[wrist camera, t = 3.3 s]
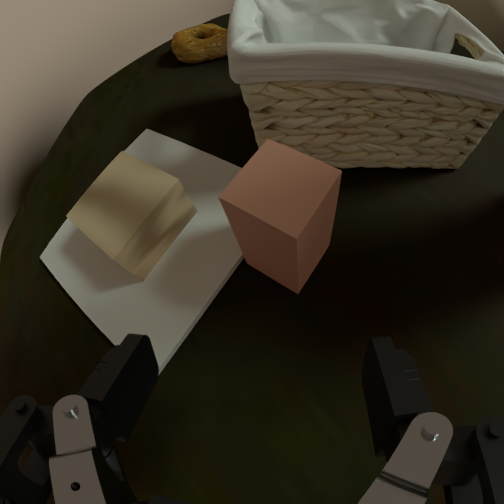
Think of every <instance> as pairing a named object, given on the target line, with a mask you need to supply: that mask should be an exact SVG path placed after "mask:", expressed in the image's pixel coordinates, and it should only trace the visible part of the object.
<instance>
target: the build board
mask: <svg viewBox="0 0 504 504" xmlns="http://www.w3.org/2000/svg"><path fill="white" fill-rule="evenodd" d="M124 152H126V153H128V154H130V155H132V156H134V157H136V158H138V159H140V160H142V161H144V162H146V163H148V164H150V165H152V166H154V167H156V168H158V169H160V170H162V171H164V172H166V173H168V174H170V175H172V176H174V177H176V178H178V179H179V180H180V182H181V183H182V185H183V187H184V189H185V191H186V192H187V194H188V196H189V198H190V199H191V201H192V203H193V205H194V206H195V208H196V210H197V213H196V214H195V215H194V216H193V218H192V219H191V220H190V221H189V223H188V224H187V225H186V226H185V228H184V229H183V230H182V231H181V233H180V234H179V235H178V237H177V238H176V239H175V240H174V242H173V243H172V244H171V245H170V247H169V248H168V249H167V251H166V252H165V253H164V255H163V256H162V257H161V258H160V260H159V261H158V262H157V264H156V265H155V266H154V268H153V269H152V270H151V272H150V273H149V274H148V276H147V277H146V278H145V280H144V281H141V280H140V279H138V278H137V277H135V276H134V275H133V274H131V273H130V272H129V271H127V270H126V269H124V268H123V267H122V266H120V265H119V264H118V263H116V262H115V261H114V260H112V259H111V258H110V257H109V256H108V255H107V254H106V253H105V252H104V251H102V250H101V249H100V248H99V247H98V246H97V245H96V244H95V243H94V242H93V241H92V240H90V239H89V238H88V237H87V236H86V235H85V234H84V233H83V232H82V231H81V230H80V229H79V228H78V227H77V226H76V225H75V224H74V223H73V222H72V221H71V220H70V219H68V218H67V220H66V221H65V222H64V224H63V225H62V226H61V228H60V229H59V230H58V232H57V233H56V234H55V236H54V237H53V239H52V240H51V241H50V243H49V244H48V246H47V247H46V249H45V250H44V252H43V253H42V255H41V256H40V258H41V260H42V261H43V262H44V264H45V265H46V266H47V268H48V269H49V270H50V272H51V273H52V274H53V275H54V277H55V278H56V279H57V280H58V282H59V283H60V284H61V285H62V287H63V288H64V289H65V290H66V292H67V293H68V294H69V295H70V296H71V298H72V299H73V300H74V301H75V302H76V303H77V305H78V306H79V307H80V308H81V309H82V310H83V312H84V313H85V314H86V315H87V316H88V317H89V318H90V319H91V320H92V322H93V323H94V324H95V325H96V326H97V327H98V328H99V329H100V330H101V331H102V332H103V333H104V334H105V335H106V337H107V338H108V339H109V340H110V341H111V342H112V343H113V344H114V345H115V346H116V345H120V344H121V342H122V341H123V340H124V338H125V337H126V335H127V334H129V333H131V334H141V335H147V336H149V338H150V340H151V344H152V347H153V350H154V353H155V356H156V359H157V363H158V366H159V374H160V373H161V371H162V370H163V369H164V367H165V366H166V364H167V363H168V362H169V360H170V359H171V358H172V356H173V355H174V353H175V352H176V351H177V349H178V348H179V347H180V345H181V344H182V342H183V341H184V340H185V338H186V337H187V335H188V334H189V333H190V331H191V330H192V329H193V327H194V326H195V324H196V323H197V322H198V320H199V319H200V318H201V316H202V315H203V313H204V312H205V311H206V309H207V308H208V307H209V305H210V304H211V302H212V301H213V300H214V298H215V297H216V296H217V294H218V293H219V291H220V290H221V289H222V287H223V286H224V285H225V283H226V282H227V280H228V279H229V278H230V276H231V275H232V274H233V272H234V271H235V269H236V268H237V267H238V265H239V264H240V263H241V261H242V260H243V258H244V255H243V253H242V251H241V248H240V246H239V244H238V241H237V239H236V237H235V235H234V232H233V230H232V228H231V225H230V223H229V221H228V219H227V216H226V214H225V212H224V209H223V207H222V205H221V202H220V200H219V198H218V197H219V195H220V194H221V193H222V192H223V191H224V189H225V188H226V187H227V186H228V185H229V183H230V182H231V181H232V180H233V179H234V177H235V176H236V175H237V174H238V173H239V172H240V170H241V169H242V168H240V167H238V166H236V165H234V164H231V163H229V162H227V161H225V160H222V159H220V158H218V157H215V156H213V155H211V154H208V153H206V152H204V151H201V150H199V149H196V148H194V147H192V146H189V145H187V144H184V143H182V142H179V141H177V140H174V139H172V138H169V137H167V136H164V135H162V134H159V133H157V132H154V131H151V130H149V129H146V130H145V131H144V132H143V133H142V134H141V135H140V136H139V137H138V138H137V139H136V140H135V141H134V142H133V143H132V144H131V145H130V146H129V147H128V148H127V149H126V150H125V151H124ZM158 376H159V375H158Z"/></svg>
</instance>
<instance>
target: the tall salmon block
mask: <svg viewBox="0 0 504 504" xmlns="http://www.w3.org/2000/svg"><path fill="white" fill-rule="evenodd" d="M341 174H342V170H339V169H337V168H335V167H333V166H331V165H329V164H326V163H324V162H322V161H320V160H318V159H315V158H313V157H311V156H308V155H306V154H304V153H302V152H299V151H297V150H294V149H292V148H290V147H287V146H285V145H282V144H280V143H277V142H275V141H272V140H270V139H267V141H266V142H265V143H264V144H263V145H262V146H261V147H260V148H259V150H258V151H257V152H256V153H255V154H254V155H253V156H252V158H251V159H250V160H249V161H248V162H247V163H246V165H245V166H244V167H243V168H242V169H241V170H240V172H239V173H238V174H237V175H236V176H235V177H234V179H233V180H232V181H231V182H230V183H229V185H228V186H227V187H226V188H225V189H224V191H223V192H222V193H221V194H220V195H219V197H218V198H219V200H220V202H221V205H222V207H223V209H224V212H225V214H226V216H227V219H228V221H229V223H230V225H231V228H232V230H233V232H234V235H235V237H236V239H237V241H238V244H239V246H240V248H241V251H242V253H243V255H244V257H245V260H246V262H247V264H249V265H251V266H252V267H254V268H255V269H257V270H259V271H260V272H262V273H264V274H265V275H267V276H269V277H270V278H272V279H274V280H275V281H277V282H279V283H280V284H282V285H284V286H285V287H287V288H288V289H290V290H292V291H293V292H295V293H297V294H299V292H300V291H301V289H302V287H303V286H304V284H305V283H306V281H307V280H308V278H309V277H310V275H311V274H312V272H313V270H314V269H315V267H316V266H317V264H318V262H319V261H320V259H321V258H322V256H323V254H324V253H325V251H326V250H327V248H328V246H329V244H330V239H331V233H332V228H333V223H334V217H335V211H336V205H337V199H338V193H339V187H340V181H341Z"/></svg>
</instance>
